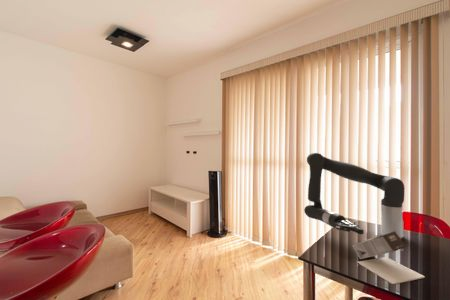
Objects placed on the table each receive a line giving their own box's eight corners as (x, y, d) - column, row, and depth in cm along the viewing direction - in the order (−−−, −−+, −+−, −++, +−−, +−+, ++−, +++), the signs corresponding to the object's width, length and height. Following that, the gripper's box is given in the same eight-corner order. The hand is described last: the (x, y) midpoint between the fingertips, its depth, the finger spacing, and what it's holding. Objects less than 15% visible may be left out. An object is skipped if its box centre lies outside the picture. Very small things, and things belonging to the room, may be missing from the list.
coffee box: (362, 240, 97) (395, 230, 86) (371, 255, 94) (406, 246, 83) (351, 245, 93) (383, 234, 82) (360, 260, 90) (395, 251, 78)
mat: (386, 258, 91) (386, 257, 91) (424, 277, 77) (424, 276, 77) (357, 262, 88) (357, 261, 88) (392, 284, 73) (392, 283, 73)
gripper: (323, 213, 108) (350, 225, 91) (343, 211, 111) (373, 222, 95) (323, 227, 108) (350, 242, 91) (343, 225, 111) (373, 238, 95)
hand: (362, 232), depth 93 cm, fingers closed
